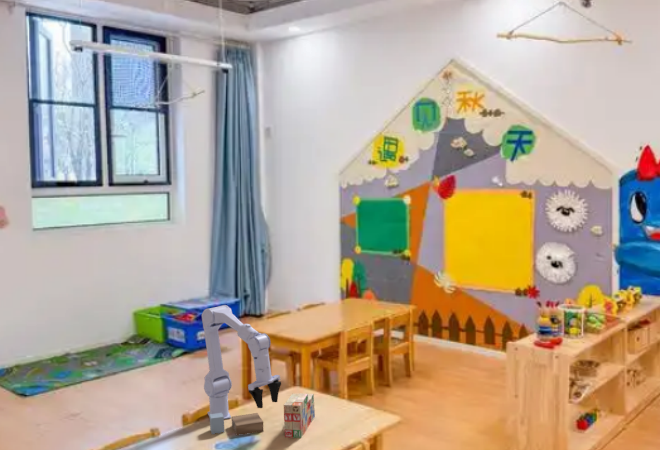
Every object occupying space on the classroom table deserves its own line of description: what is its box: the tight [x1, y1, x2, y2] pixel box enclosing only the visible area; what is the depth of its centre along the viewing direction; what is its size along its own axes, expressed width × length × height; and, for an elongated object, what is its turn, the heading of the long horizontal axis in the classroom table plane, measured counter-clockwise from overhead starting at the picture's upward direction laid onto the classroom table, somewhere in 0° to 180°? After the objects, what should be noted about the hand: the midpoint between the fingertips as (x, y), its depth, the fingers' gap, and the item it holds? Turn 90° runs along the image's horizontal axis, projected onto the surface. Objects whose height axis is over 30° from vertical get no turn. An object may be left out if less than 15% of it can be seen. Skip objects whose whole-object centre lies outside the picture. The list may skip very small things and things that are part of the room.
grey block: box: [208, 413, 225, 435], centre depth 251 cm, size 5×5×6 cm
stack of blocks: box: [283, 393, 316, 439], centre depth 252 cm, size 21×6×12 cm, turn 168°
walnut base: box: [231, 412, 264, 436], centre depth 253 cm, size 10×10×4 cm
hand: (267, 404), depth 247 cm, fingers open, 7 cm apart
